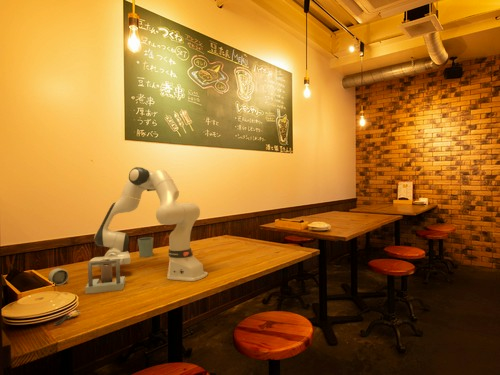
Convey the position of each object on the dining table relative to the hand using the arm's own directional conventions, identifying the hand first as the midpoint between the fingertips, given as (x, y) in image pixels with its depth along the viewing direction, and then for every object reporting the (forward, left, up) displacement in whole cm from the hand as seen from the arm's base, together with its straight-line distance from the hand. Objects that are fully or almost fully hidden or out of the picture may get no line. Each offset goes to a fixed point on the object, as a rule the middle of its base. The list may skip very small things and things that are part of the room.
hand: (108, 264), depth 162 cm
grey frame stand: (-7, +7, -9) cm, 13 cm away
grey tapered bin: (+24, -47, -9) cm, 53 cm away
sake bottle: (-6, +6, -9) cm, 12 cm away
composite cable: (-24, +37, -9) cm, 45 cm away
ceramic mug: (+21, +15, -9) cm, 28 cm away
